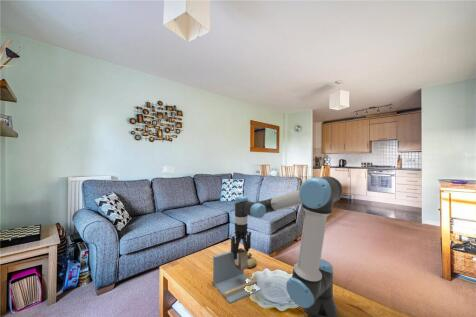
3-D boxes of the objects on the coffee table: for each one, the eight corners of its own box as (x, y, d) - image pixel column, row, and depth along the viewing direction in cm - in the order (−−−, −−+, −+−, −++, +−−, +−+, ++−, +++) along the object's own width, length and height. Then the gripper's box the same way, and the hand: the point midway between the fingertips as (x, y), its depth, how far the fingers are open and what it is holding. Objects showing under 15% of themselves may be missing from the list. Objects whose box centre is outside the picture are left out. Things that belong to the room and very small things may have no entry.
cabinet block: (247, 268, 113) (247, 251, 113) (240, 271, 110) (240, 253, 110) (240, 262, 119) (240, 246, 119) (233, 265, 116) (233, 248, 116)
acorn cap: (254, 271, 127) (259, 256, 133) (238, 263, 129) (244, 249, 135) (252, 274, 134) (256, 259, 141) (237, 267, 137) (243, 253, 143)
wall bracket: (261, 289, 108) (261, 260, 108) (229, 304, 97) (230, 271, 97) (240, 272, 125) (240, 247, 125) (212, 283, 114) (212, 255, 114)
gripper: (249, 218, 123) (249, 256, 122) (224, 223, 113) (224, 264, 112) (257, 222, 116) (256, 261, 116) (231, 227, 106) (230, 270, 106)
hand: (240, 262), depth 114 cm, fingers closed on cabinet block, 5 cm apart
